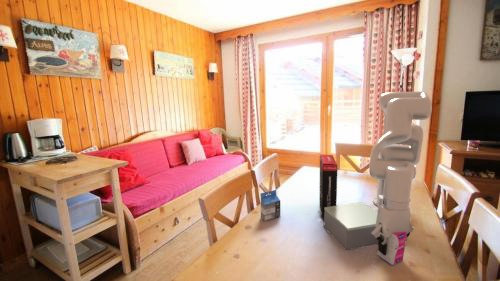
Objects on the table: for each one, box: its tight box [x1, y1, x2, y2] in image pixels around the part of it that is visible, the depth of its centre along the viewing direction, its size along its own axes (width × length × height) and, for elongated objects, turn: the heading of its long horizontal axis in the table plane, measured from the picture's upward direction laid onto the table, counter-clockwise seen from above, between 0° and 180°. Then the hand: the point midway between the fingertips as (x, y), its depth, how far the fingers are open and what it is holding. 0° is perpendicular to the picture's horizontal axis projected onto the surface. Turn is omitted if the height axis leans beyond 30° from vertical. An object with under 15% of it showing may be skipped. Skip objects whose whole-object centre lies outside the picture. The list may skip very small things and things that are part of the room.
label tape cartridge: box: [260, 189, 281, 222], centre depth 112 cm, size 9×4×12 cm, turn 118°
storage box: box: [323, 211, 379, 251], centre depth 97 cm, size 18×16×8 cm
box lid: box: [324, 201, 378, 231], centre depth 97 cm, size 18×17×1 cm
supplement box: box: [377, 232, 407, 267], centre depth 82 cm, size 6×6×12 cm
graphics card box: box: [319, 153, 338, 221], centre depth 115 cm, size 17×7×27 cm, turn 168°
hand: (390, 250), depth 83 cm, fingers closed on supplement box, 6 cm apart
